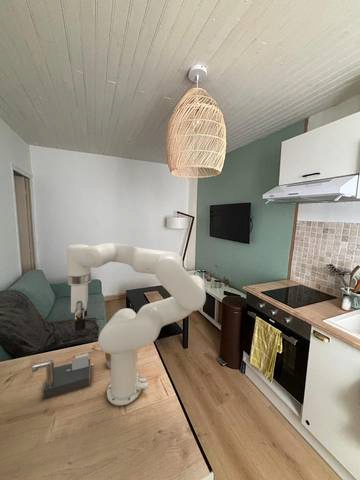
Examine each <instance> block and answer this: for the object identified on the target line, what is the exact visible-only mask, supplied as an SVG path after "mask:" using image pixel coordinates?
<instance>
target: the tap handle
mask: <svg viewBox="0 0 360 480" xmlns="http://www.w3.org/2000/svg"><path fill="white" fill-rule="evenodd" d="M89 357H90V356H89V352H87V353H83V354H82V353H81V354H78V355H72V356H71V363H72V371H73V370H77V369H81V368H85V367H89V359H90V358H89Z"/></svg>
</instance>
